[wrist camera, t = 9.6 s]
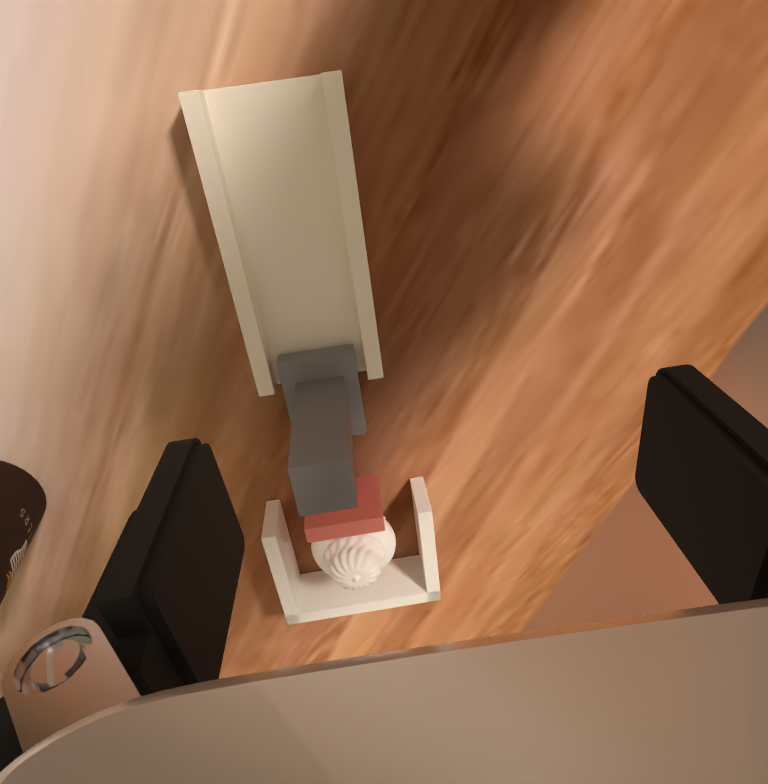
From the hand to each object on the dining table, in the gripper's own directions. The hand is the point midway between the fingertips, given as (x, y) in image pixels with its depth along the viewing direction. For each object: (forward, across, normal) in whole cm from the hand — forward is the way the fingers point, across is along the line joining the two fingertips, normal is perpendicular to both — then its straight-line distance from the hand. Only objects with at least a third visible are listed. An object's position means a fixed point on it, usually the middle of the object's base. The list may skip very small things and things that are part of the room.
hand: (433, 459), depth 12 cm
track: (+23, +5, +1) cm, 24 cm away
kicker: (+22, +5, +13) cm, 26 cm away
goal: (+22, +5, +24) cm, 33 cm away
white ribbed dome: (+23, +5, +22) cm, 32 cm away
